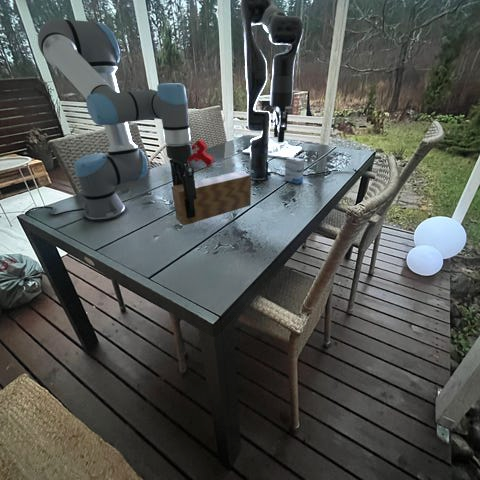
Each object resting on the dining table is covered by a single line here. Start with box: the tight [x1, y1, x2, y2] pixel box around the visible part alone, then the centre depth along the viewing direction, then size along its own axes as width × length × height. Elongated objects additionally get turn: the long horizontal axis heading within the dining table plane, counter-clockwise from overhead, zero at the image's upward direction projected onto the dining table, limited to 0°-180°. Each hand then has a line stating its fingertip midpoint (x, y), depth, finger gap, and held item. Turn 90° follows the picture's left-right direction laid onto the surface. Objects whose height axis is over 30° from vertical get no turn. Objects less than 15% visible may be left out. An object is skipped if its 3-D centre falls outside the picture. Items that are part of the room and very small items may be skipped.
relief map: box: [242, 138, 304, 160], centre depth 192 cm, size 27×35×5 cm
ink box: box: [284, 156, 306, 185], centre depth 140 cm, size 8×5×12 cm, turn 47°
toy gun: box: [188, 138, 215, 167], centre depth 167 cm, size 18×4×15 cm
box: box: [171, 170, 252, 226], centre depth 96 cm, size 28×6×12 cm, turn 123°
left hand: (187, 213), depth 93 cm, fingers closed on box, 6 cm apart
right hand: (278, 139), depth 102 cm, fingers open, 8 cm apart
